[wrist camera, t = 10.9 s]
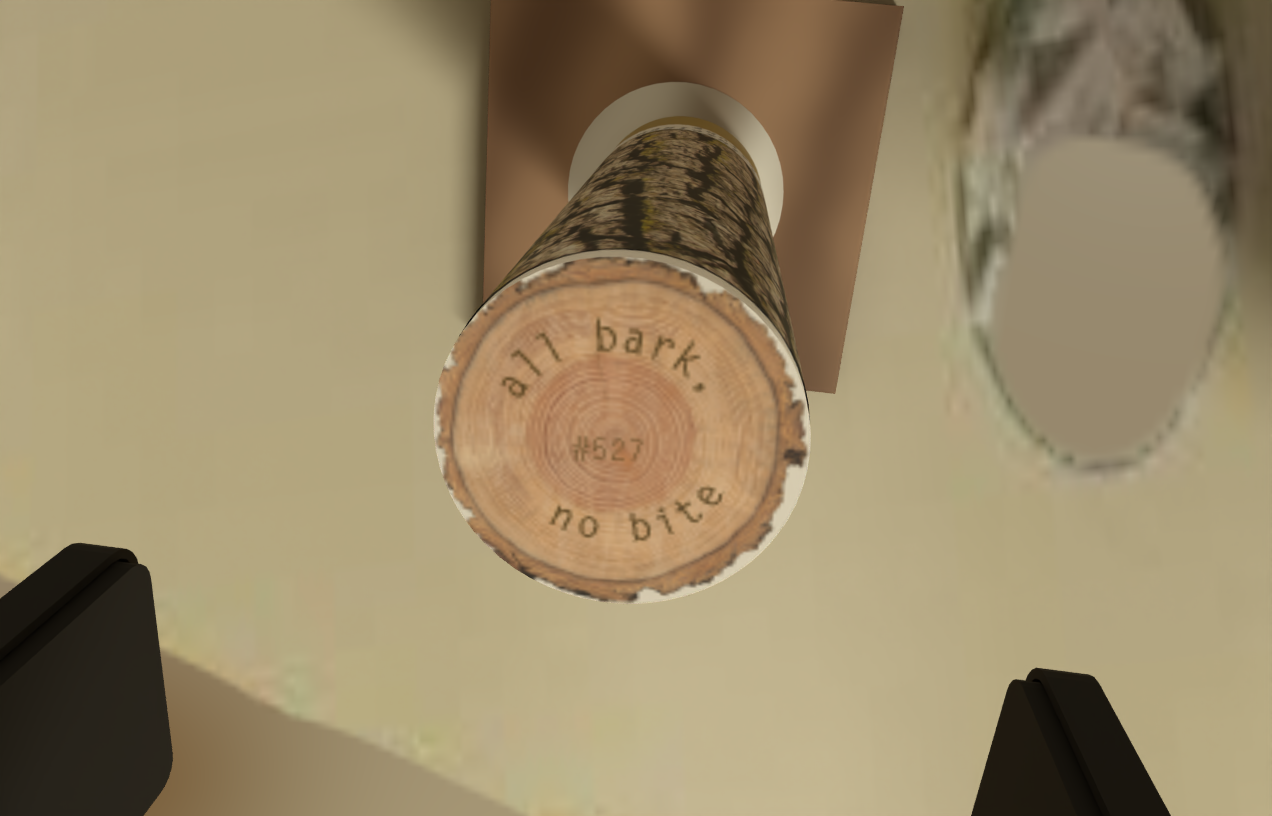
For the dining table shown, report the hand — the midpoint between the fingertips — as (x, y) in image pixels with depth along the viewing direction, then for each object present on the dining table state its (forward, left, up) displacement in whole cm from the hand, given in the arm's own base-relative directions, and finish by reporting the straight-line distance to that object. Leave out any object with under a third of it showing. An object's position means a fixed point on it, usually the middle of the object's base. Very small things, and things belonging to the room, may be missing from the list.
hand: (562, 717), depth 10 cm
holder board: (0, 0, -34) cm, 34 cm away
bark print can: (0, 0, -33) cm, 33 cm away
